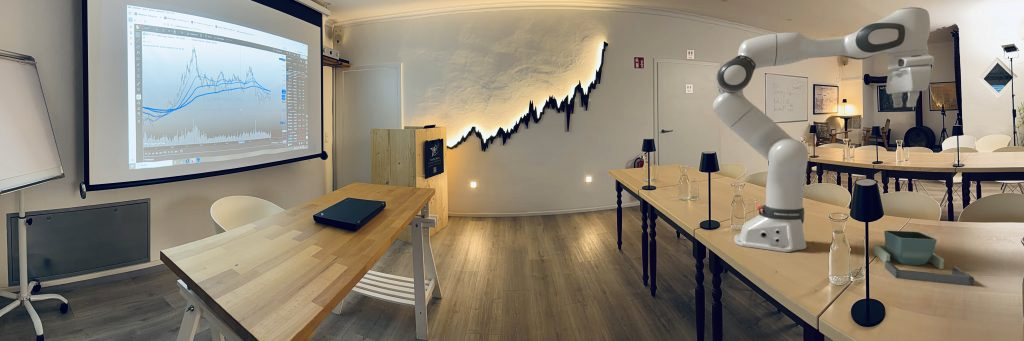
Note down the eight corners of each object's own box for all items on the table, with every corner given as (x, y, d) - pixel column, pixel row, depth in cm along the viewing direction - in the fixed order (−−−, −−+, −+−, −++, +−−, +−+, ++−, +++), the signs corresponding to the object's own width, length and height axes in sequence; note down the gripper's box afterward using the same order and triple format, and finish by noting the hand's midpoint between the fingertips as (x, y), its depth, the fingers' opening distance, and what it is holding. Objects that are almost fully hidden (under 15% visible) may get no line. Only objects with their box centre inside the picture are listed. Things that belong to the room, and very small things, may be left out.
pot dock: (896, 278, 111) (896, 270, 110) (884, 268, 118) (885, 260, 118) (972, 286, 104) (973, 277, 103) (955, 275, 111) (956, 266, 111)
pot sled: (886, 264, 120) (887, 245, 120) (871, 251, 132) (872, 233, 131) (943, 269, 115) (944, 249, 114) (922, 255, 126) (924, 237, 125)
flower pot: (916, 258, 124) (918, 231, 123) (935, 269, 116) (938, 239, 115) (881, 257, 127) (883, 230, 126) (898, 266, 119) (899, 238, 118)
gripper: (881, 66, 133) (878, 108, 135) (907, 59, 115) (904, 107, 116) (906, 64, 130) (903, 106, 132) (937, 56, 112) (933, 105, 114)
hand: (904, 107), depth 124 cm, fingers open, 8 cm apart
